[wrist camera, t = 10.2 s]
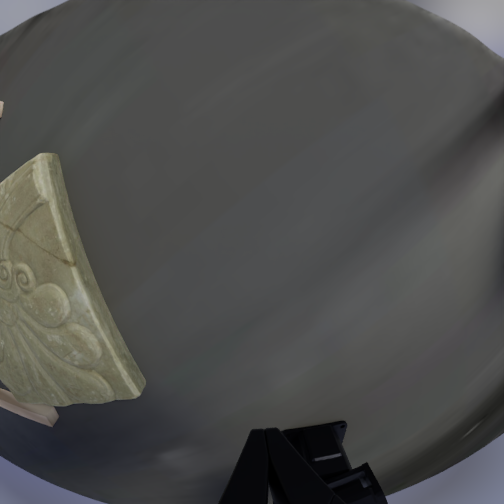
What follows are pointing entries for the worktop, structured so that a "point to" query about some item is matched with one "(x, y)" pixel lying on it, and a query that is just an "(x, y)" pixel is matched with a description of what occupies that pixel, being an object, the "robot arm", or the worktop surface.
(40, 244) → the decorative tile
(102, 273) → the worktop surface
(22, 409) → the frame
